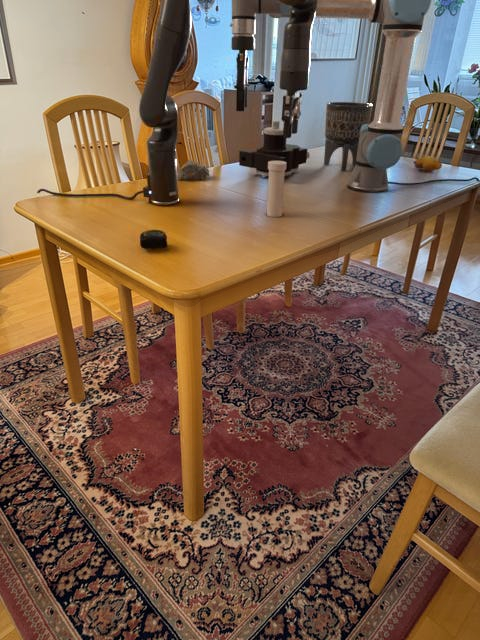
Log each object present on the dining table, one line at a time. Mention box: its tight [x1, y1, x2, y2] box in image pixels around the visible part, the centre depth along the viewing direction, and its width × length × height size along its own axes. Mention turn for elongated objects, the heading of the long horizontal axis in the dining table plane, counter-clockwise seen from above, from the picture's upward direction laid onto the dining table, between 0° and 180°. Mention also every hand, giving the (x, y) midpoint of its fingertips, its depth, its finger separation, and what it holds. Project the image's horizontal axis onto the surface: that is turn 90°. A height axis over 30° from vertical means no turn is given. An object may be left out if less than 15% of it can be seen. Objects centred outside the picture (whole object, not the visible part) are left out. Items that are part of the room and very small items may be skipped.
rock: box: [177, 159, 210, 182], centre depth 183 cm, size 13×9×6 cm, turn 131°
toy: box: [413, 156, 443, 172], centre depth 207 cm, size 11×6×15 cm
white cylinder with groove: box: [268, 161, 286, 171], centre depth 137 cm, size 6×6×2 cm
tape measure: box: [139, 229, 168, 250], centre depth 117 cm, size 7×7×4 cm
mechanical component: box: [238, 120, 311, 178], centre depth 191 cm, size 22×21×30 cm
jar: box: [266, 170, 285, 218], centre depth 141 cm, size 5×5×16 cm
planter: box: [323, 101, 374, 172], centre depth 204 cm, size 20×20×26 cm
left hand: (290, 135), depth 126 cm, fingers open, 8 cm apart
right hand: (241, 109), depth 155 cm, fingers open, 13 cm apart
